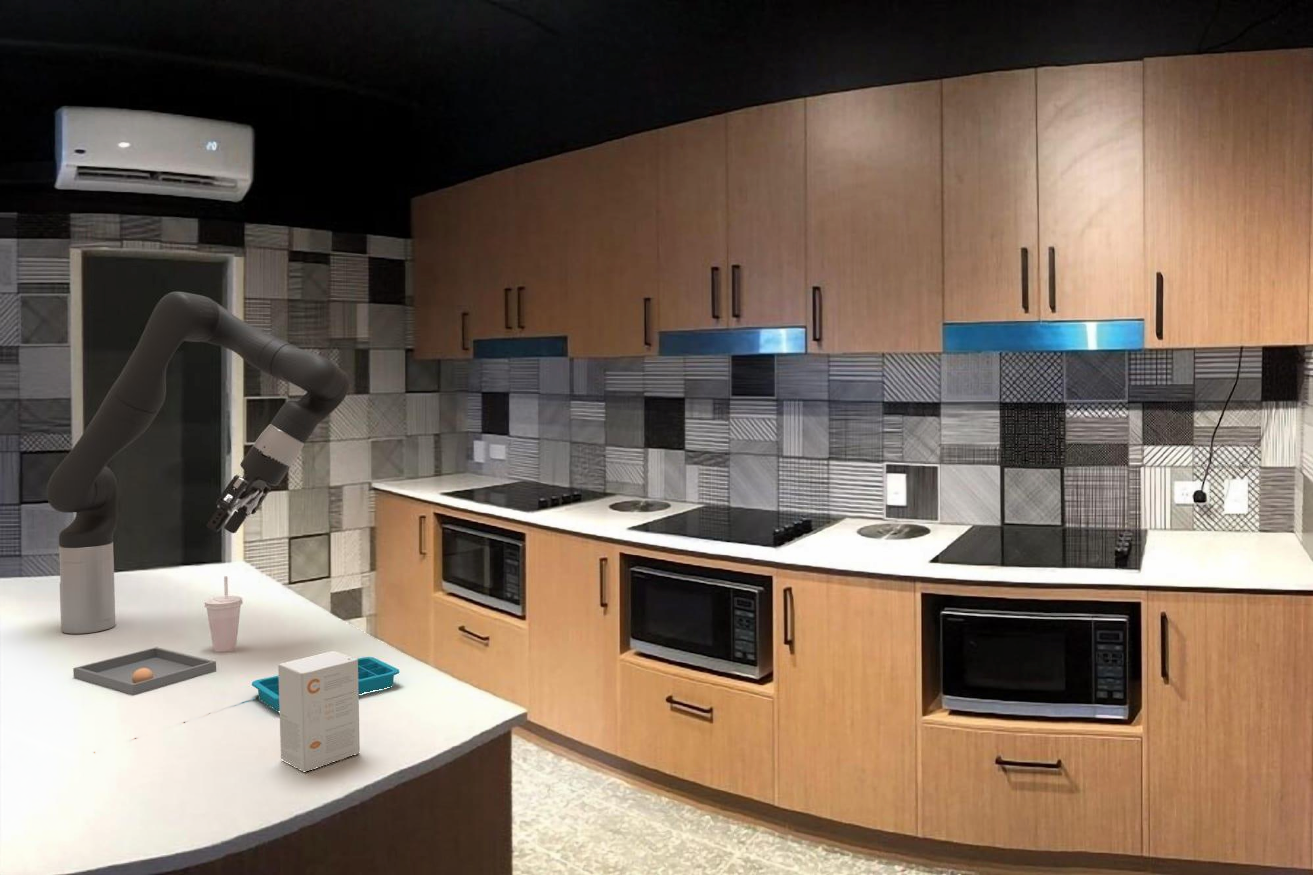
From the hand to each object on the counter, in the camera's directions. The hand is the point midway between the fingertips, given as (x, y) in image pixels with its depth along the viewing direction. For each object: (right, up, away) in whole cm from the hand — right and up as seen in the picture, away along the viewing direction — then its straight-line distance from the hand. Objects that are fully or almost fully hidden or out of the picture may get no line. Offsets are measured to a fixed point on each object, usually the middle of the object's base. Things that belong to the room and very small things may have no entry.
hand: (220, 530), depth 162 cm
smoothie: (-1, -23, +5) cm, 24 cm away
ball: (-4, -24, -17) cm, 29 cm away
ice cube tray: (+26, -25, -18) cm, 40 cm away
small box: (+34, -26, -44) cm, 61 cm away
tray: (-8, -24, -10) cm, 27 cm away
